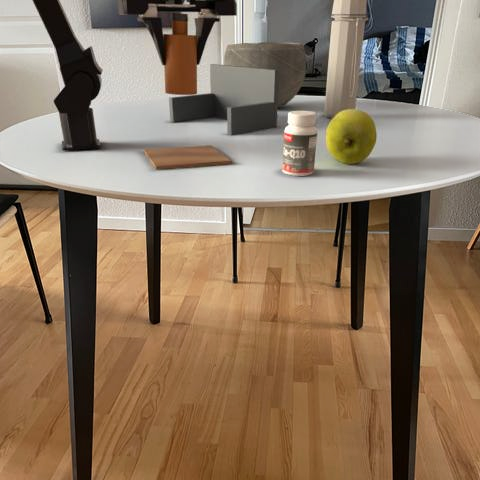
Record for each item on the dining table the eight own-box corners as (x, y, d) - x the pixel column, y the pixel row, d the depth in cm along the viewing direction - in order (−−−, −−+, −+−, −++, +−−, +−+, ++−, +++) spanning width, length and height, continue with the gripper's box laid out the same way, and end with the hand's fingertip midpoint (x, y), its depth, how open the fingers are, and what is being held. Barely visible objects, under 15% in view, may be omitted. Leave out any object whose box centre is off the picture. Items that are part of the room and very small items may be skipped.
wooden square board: (231, 163, 79) (231, 160, 79) (156, 169, 76) (155, 166, 75) (211, 148, 89) (211, 145, 88) (144, 152, 85) (143, 149, 85)
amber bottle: (200, 95, 87) (200, 14, 81) (169, 94, 85) (166, 12, 79) (192, 91, 91) (191, 15, 85) (162, 91, 90) (159, 13, 84)
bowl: (296, 101, 140) (300, 40, 133) (310, 113, 122) (315, 43, 114) (222, 101, 139) (221, 40, 131) (225, 114, 121) (224, 43, 113)
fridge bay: (231, 135, 99) (231, 73, 93) (170, 121, 112) (166, 66, 106) (276, 127, 107) (279, 69, 101) (215, 115, 119) (213, 64, 114)
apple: (323, 169, 76) (328, 113, 72) (323, 155, 84) (327, 104, 80) (375, 171, 75) (383, 114, 71) (370, 157, 83) (377, 105, 79)
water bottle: (317, 115, 120) (326, -9, 107) (345, 113, 122) (358, -8, 110) (336, 121, 113) (349, -11, 100) (366, 119, 115) (382, -11, 102)
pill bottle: (276, 173, 74) (279, 113, 70) (291, 166, 77) (295, 109, 73) (304, 178, 72) (309, 116, 67) (319, 171, 75) (324, 112, 71)
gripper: (216, -40, 87) (218, 61, 95) (108, -45, 82) (119, 62, 90) (238, -46, 78) (237, 65, 86) (117, -53, 73) (129, 67, 81)
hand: (180, 64), depth 86 cm, fingers closed on amber bottle, 6 cm apart
